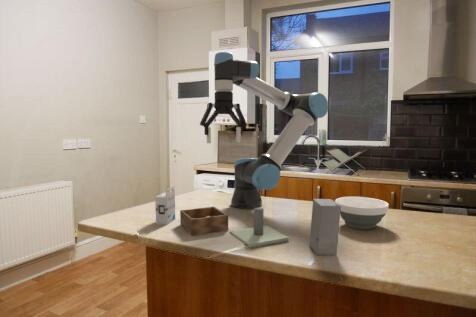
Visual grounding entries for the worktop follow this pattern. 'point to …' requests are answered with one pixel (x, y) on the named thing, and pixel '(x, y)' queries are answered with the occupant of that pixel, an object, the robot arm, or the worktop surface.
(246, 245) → the grey mat
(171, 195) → the ink box
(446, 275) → the worktop surface
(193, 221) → the walnut box
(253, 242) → the lid
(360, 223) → the bowl
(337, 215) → the skincare box
